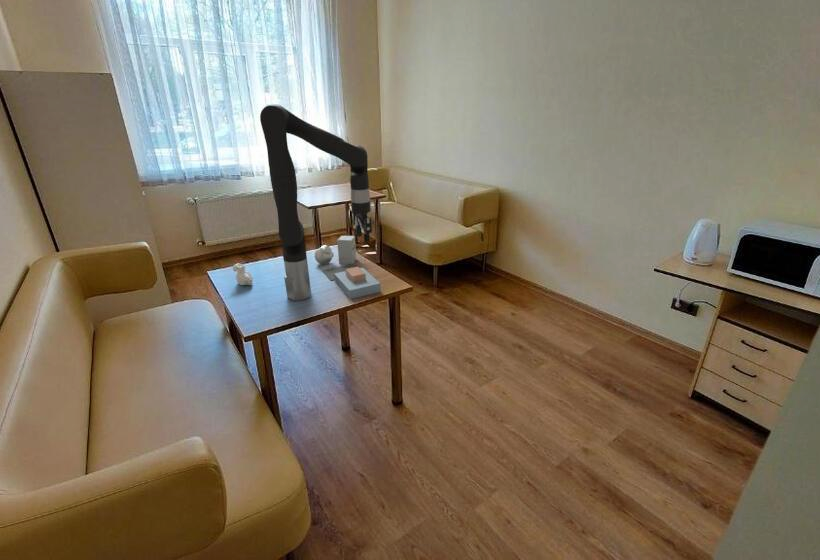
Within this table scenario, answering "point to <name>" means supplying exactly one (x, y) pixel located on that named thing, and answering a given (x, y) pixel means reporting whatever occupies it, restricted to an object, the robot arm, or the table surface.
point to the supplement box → (346, 249)
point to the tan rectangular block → (355, 274)
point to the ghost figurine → (324, 255)
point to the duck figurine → (242, 275)
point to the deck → (357, 285)
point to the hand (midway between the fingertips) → (363, 239)
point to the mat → (337, 270)
